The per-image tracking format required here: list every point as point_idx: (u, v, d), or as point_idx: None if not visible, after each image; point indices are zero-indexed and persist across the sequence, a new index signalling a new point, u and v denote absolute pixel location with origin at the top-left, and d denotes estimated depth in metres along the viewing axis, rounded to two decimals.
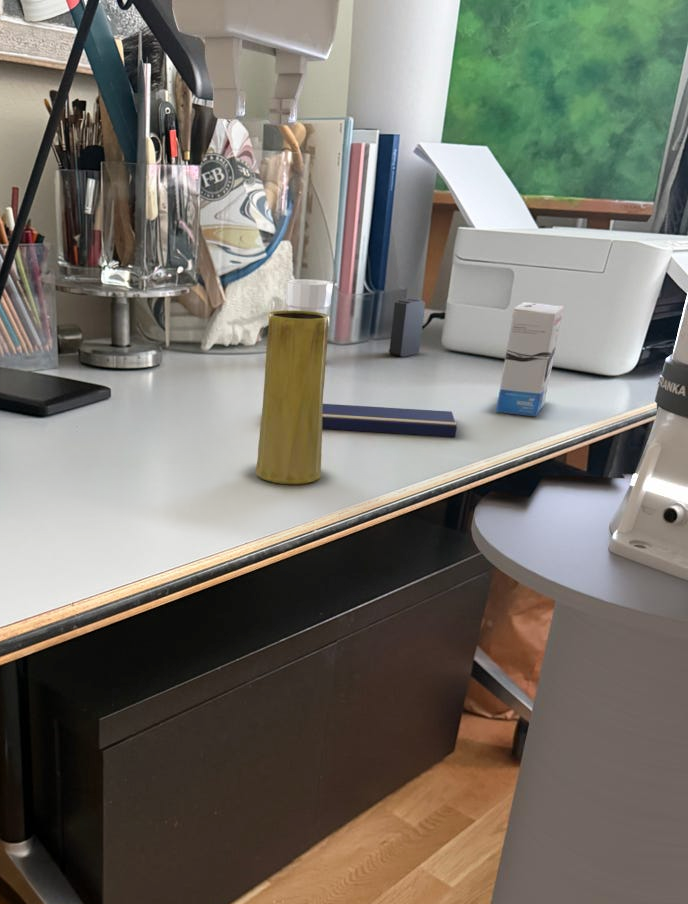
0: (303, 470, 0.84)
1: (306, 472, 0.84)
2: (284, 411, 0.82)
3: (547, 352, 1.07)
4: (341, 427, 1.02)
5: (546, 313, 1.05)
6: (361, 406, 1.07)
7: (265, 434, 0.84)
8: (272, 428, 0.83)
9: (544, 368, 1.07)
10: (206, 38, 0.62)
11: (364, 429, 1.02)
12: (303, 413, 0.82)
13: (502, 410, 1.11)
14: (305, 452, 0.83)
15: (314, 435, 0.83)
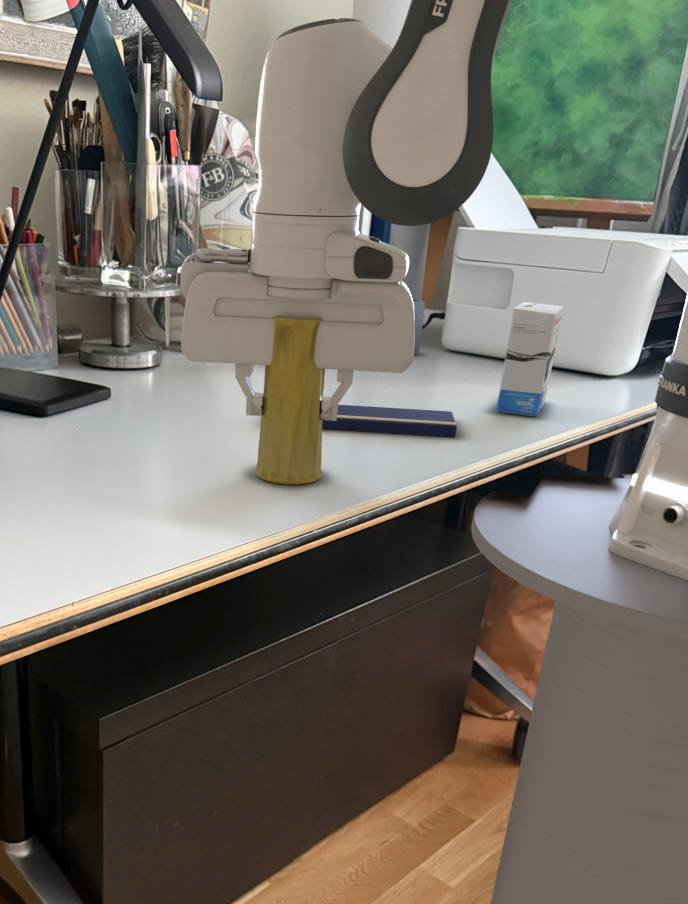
0: (303, 470, 0.84)
1: (306, 472, 0.84)
2: (284, 411, 0.82)
3: (547, 352, 1.07)
4: (341, 427, 1.02)
5: (546, 313, 1.05)
6: (361, 406, 1.07)
7: (265, 434, 0.84)
8: (272, 428, 0.83)
9: (544, 368, 1.07)
10: None
11: (364, 429, 1.02)
12: (303, 413, 0.82)
13: (502, 410, 1.11)
14: (305, 452, 0.83)
15: (314, 435, 0.83)
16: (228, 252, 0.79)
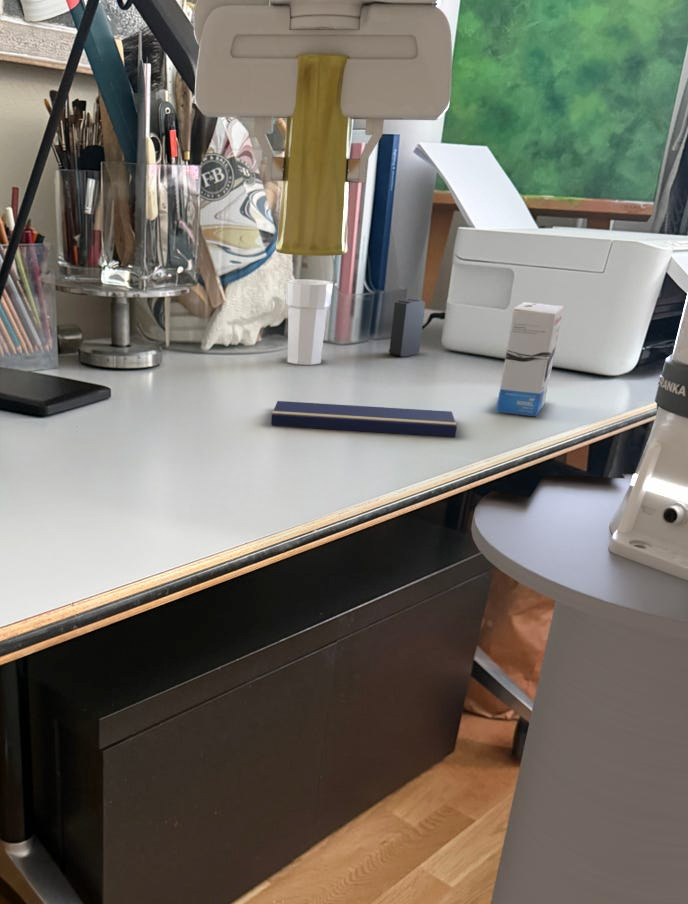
0: (328, 239, 0.77)
1: (332, 242, 0.77)
2: (308, 167, 0.75)
3: (547, 352, 1.07)
4: (341, 427, 1.02)
5: (546, 313, 1.05)
6: (361, 406, 1.07)
7: (287, 199, 0.77)
8: (294, 190, 0.76)
9: (544, 368, 1.07)
10: None
11: (364, 429, 1.02)
12: (328, 170, 0.75)
13: (502, 410, 1.11)
14: (331, 217, 0.76)
15: (340, 198, 0.76)
16: None
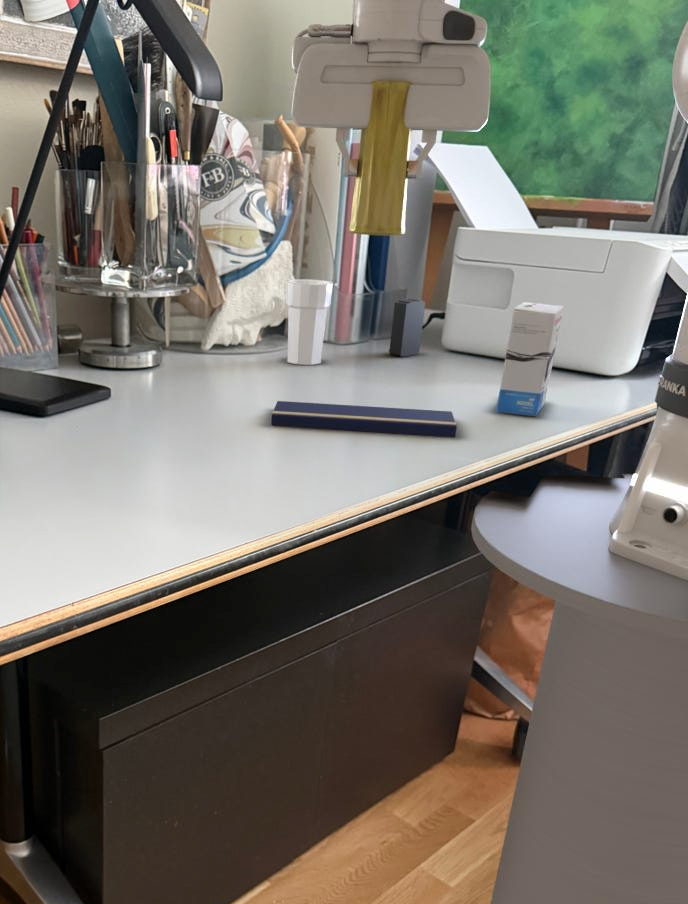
0: (391, 222, 1.00)
1: (394, 224, 1.00)
2: (378, 167, 0.97)
3: (547, 352, 1.07)
4: (341, 427, 1.02)
5: (546, 313, 1.05)
6: (361, 406, 1.07)
7: (360, 191, 0.99)
8: (366, 184, 0.99)
9: (544, 368, 1.07)
10: None
11: (364, 429, 1.02)
12: (393, 169, 0.97)
13: (502, 410, 1.11)
14: (394, 205, 0.99)
15: (401, 191, 0.99)
16: (334, 26, 0.94)
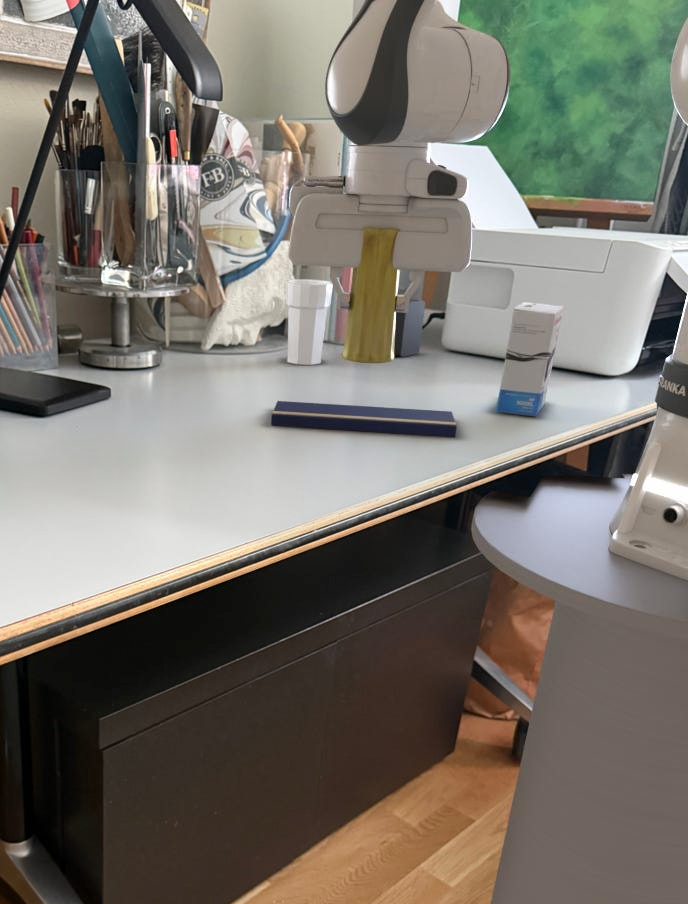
0: (381, 352, 1.08)
1: (383, 353, 1.08)
2: (368, 303, 1.05)
3: (547, 352, 1.07)
4: (341, 427, 1.02)
5: (546, 313, 1.05)
6: (361, 406, 1.07)
7: (352, 323, 1.07)
8: (358, 317, 1.07)
9: (544, 368, 1.07)
10: None
11: (364, 429, 1.02)
12: (383, 305, 1.05)
13: (502, 410, 1.11)
14: (383, 337, 1.07)
15: (390, 323, 1.07)
16: (328, 178, 1.02)
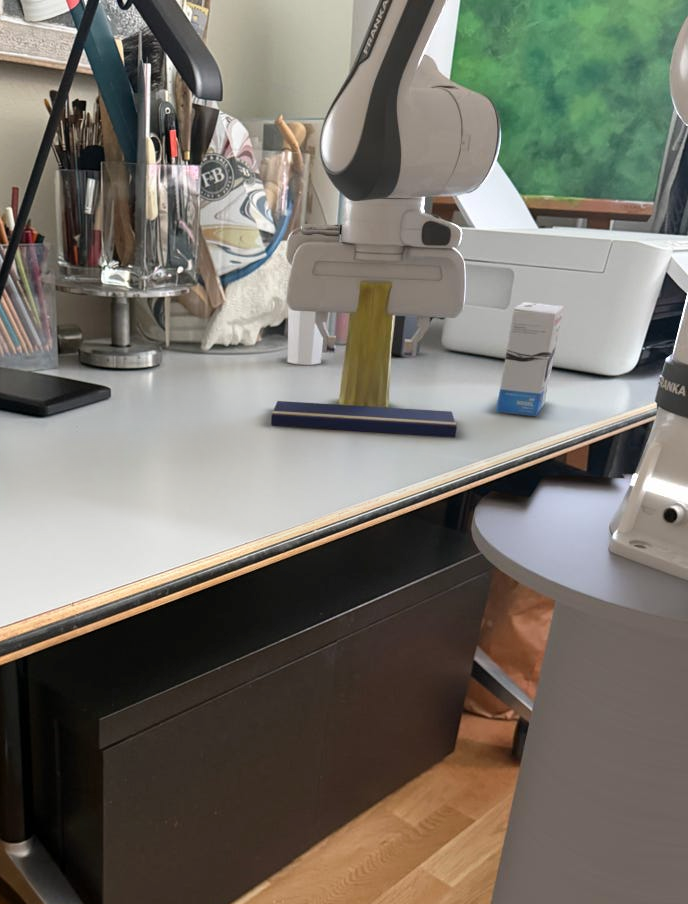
0: (376, 400, 1.10)
1: (378, 401, 1.10)
2: (364, 353, 1.08)
3: (547, 352, 1.07)
4: (341, 427, 1.02)
5: (546, 313, 1.05)
6: (361, 406, 1.07)
7: (348, 372, 1.10)
8: (353, 367, 1.09)
9: (544, 368, 1.07)
10: None
11: (364, 429, 1.02)
12: (378, 355, 1.08)
13: (502, 410, 1.11)
14: (378, 385, 1.09)
15: (385, 372, 1.09)
16: (324, 227, 1.04)
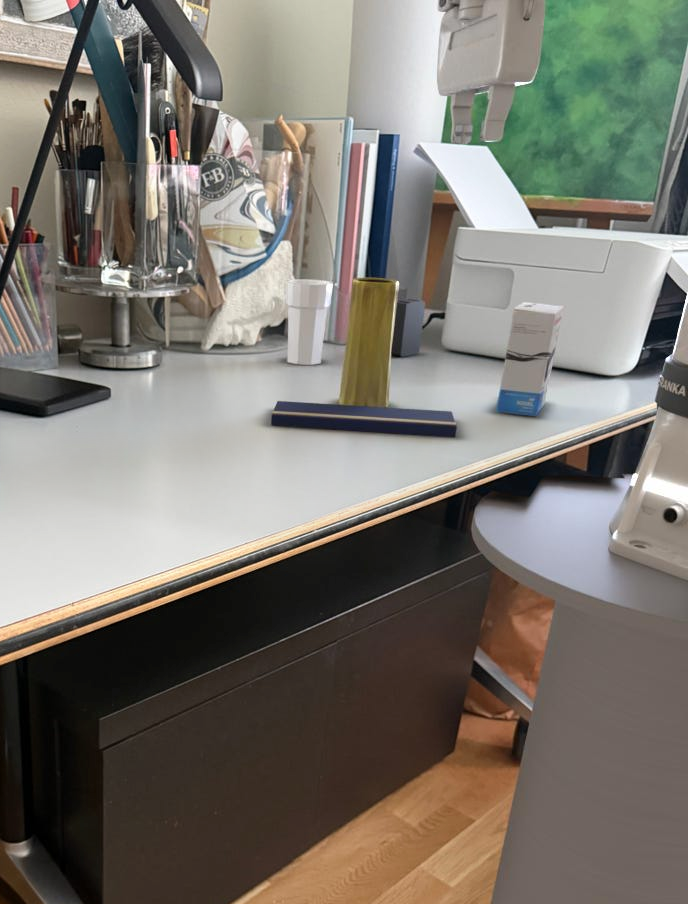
0: (376, 400, 1.10)
1: (378, 401, 1.10)
2: (364, 353, 1.08)
3: (547, 352, 1.07)
4: (341, 427, 1.02)
5: (546, 313, 1.05)
6: (361, 406, 1.07)
7: (348, 372, 1.10)
8: (353, 367, 1.09)
9: (544, 368, 1.07)
10: (495, 85, 0.87)
11: (364, 429, 1.02)
12: (378, 355, 1.08)
13: (502, 410, 1.11)
14: (378, 385, 1.09)
15: (385, 372, 1.09)
16: None
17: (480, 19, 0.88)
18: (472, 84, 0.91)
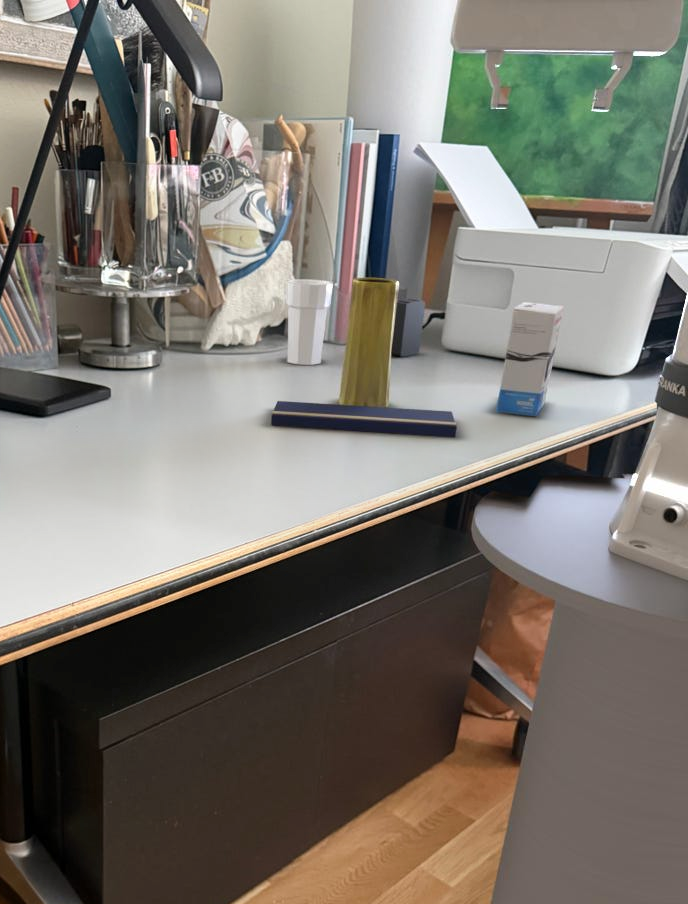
0: (376, 400, 1.10)
1: (378, 401, 1.10)
2: (364, 353, 1.08)
3: (547, 352, 1.07)
4: (341, 427, 1.02)
5: (546, 313, 1.05)
6: (361, 406, 1.07)
7: (348, 372, 1.10)
8: (353, 367, 1.09)
9: (544, 368, 1.07)
10: (634, 53, 0.86)
11: (364, 429, 1.02)
12: (378, 355, 1.08)
13: (502, 410, 1.11)
14: (378, 385, 1.09)
15: (385, 372, 1.09)
16: None
17: None
18: (587, 47, 0.86)
